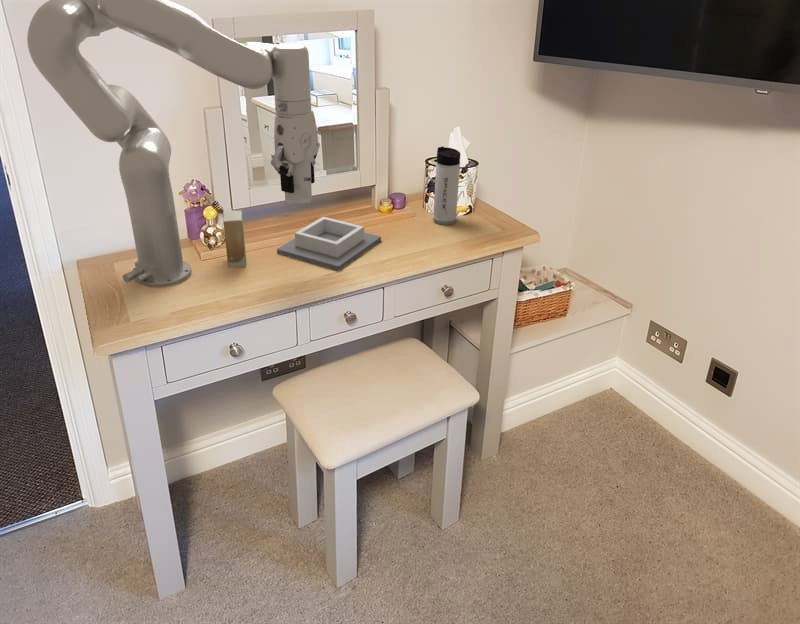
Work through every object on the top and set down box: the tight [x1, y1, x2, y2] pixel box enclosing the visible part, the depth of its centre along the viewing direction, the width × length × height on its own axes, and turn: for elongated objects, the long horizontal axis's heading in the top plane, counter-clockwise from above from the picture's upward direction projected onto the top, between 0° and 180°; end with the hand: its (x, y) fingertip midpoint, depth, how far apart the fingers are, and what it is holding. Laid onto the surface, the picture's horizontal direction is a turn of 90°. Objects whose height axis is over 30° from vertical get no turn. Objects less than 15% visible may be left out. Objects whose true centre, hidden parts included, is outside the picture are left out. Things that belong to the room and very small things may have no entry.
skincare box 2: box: [284, 148, 313, 204], centre depth 153 cm, size 6×4×12 cm
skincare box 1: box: [222, 210, 248, 269], centre depth 162 cm, size 6×4×12 cm
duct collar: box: [276, 216, 382, 271], centre depth 173 cm, size 20×18×5 cm
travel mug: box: [432, 146, 461, 226], centre depth 186 cm, size 6×7×20 cm
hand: (298, 186), depth 155 cm, fingers closed on skincare box 2, 6 cm apart
